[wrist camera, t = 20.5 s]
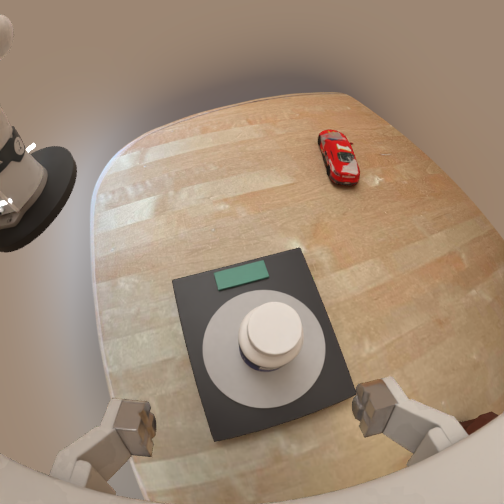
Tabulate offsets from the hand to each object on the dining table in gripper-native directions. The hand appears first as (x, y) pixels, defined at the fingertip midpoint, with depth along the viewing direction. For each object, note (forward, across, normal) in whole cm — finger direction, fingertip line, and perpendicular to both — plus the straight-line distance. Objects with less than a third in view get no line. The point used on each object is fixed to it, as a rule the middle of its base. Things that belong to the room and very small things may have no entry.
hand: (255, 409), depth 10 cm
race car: (+40, -18, -9) cm, 45 cm away
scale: (+20, -2, +11) cm, 23 cm away
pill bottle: (+17, -2, +10) cm, 19 cm away
